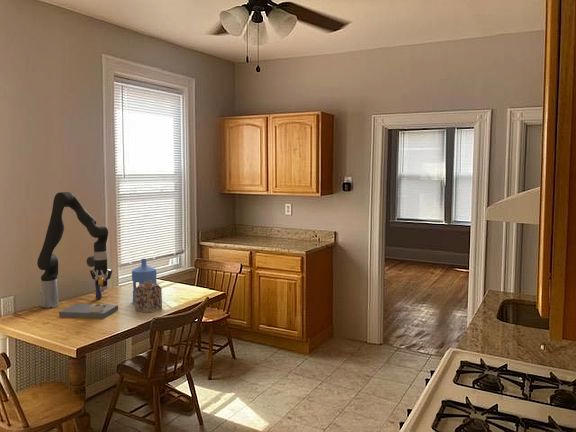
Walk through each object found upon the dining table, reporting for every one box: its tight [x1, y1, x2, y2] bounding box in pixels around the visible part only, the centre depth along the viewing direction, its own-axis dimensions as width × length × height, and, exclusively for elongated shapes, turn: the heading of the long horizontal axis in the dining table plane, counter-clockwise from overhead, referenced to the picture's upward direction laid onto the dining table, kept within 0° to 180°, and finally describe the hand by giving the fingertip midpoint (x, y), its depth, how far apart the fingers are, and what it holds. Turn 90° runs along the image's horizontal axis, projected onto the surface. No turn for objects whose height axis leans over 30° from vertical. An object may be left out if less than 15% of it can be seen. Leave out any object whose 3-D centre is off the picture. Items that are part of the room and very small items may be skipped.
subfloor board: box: [58, 303, 119, 319], centre depth 305 cm, size 28×18×3 cm, turn 82°
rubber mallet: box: [86, 255, 103, 300], centre depth 337 cm, size 12×8×30 cm, turn 152°
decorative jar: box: [134, 281, 163, 314], centre depth 311 cm, size 12×12×18 cm
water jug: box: [131, 258, 158, 304], centre depth 331 cm, size 16×16×28 cm
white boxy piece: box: [90, 303, 104, 312], centre depth 299 cm, size 6×5×4 cm
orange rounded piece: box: [98, 277, 105, 293], centre depth 308 cm, size 4×4×8 cm
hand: (101, 286), depth 308 cm, fingers closed on orange rounded piece, 4 cm apart
